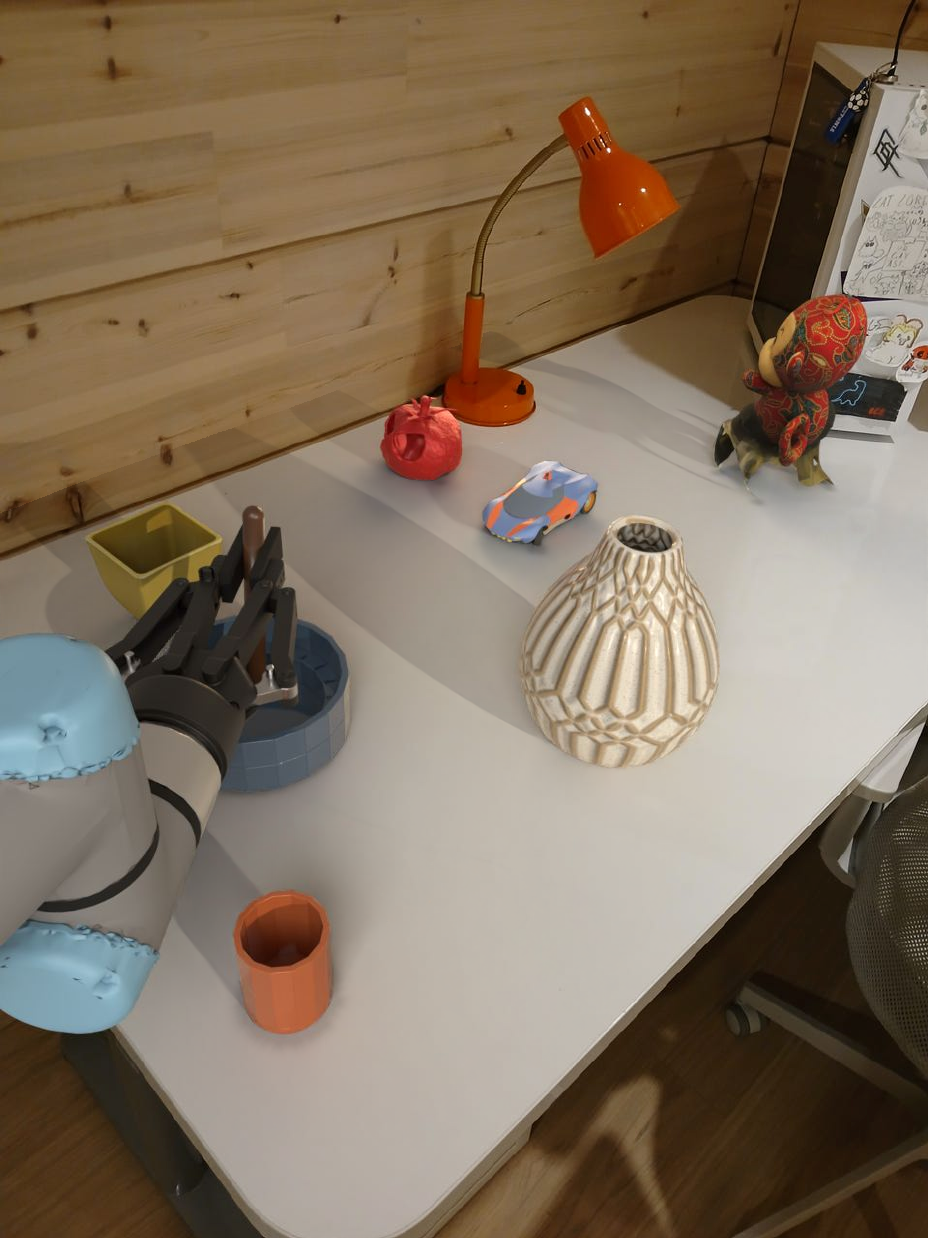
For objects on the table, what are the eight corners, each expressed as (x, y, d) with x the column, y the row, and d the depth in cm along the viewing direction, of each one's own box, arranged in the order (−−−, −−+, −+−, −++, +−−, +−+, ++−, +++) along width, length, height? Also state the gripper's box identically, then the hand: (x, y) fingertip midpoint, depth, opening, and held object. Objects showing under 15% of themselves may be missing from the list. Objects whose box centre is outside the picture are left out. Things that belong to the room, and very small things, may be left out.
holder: (233, 1029, 60) (221, 967, 55) (256, 948, 64) (248, 885, 60) (322, 1040, 60) (317, 979, 55) (339, 957, 64) (337, 894, 60)
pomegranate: (436, 439, 120) (439, 369, 114) (477, 477, 114) (483, 404, 108) (365, 456, 116) (364, 384, 110) (403, 496, 109) (404, 422, 104)
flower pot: (153, 659, 86) (138, 578, 80) (100, 614, 90) (82, 534, 85) (234, 616, 91) (225, 537, 85) (180, 576, 95) (167, 499, 90)
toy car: (465, 532, 104) (468, 490, 101) (542, 480, 114) (547, 440, 111) (526, 561, 101) (531, 518, 97) (600, 505, 110) (607, 464, 107)
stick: (244, 699, 77) (239, 507, 71) (249, 690, 78) (245, 501, 72) (263, 701, 77) (260, 509, 70) (268, 692, 78) (266, 503, 72)
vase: (641, 652, 90) (684, 465, 78) (734, 774, 79) (802, 579, 66) (484, 686, 85) (502, 492, 73) (558, 821, 74) (596, 619, 61)
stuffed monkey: (838, 447, 121) (917, 271, 101) (823, 541, 112) (906, 368, 92) (720, 419, 124) (774, 242, 104) (695, 509, 114) (749, 333, 94)
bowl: (135, 785, 74) (122, 731, 71) (196, 657, 86) (187, 605, 83) (329, 806, 74) (327, 753, 70) (363, 675, 86) (363, 622, 82)
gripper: (54, 791, 59) (177, 570, 78) (287, 816, 59) (356, 587, 77) (25, 703, 55) (164, 490, 73) (279, 729, 54) (354, 507, 72)
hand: (262, 540), depth 75 cm, fingers closed on stick, 1 cm apart
